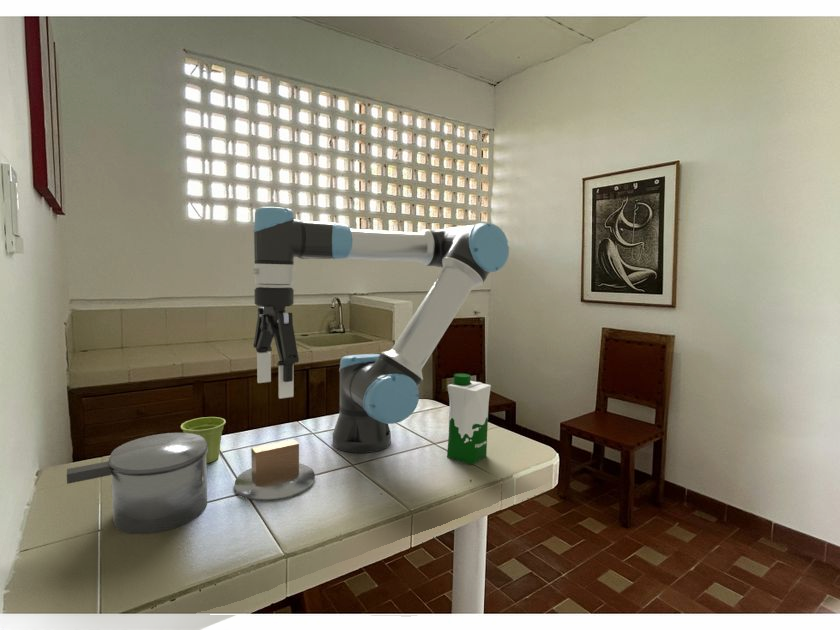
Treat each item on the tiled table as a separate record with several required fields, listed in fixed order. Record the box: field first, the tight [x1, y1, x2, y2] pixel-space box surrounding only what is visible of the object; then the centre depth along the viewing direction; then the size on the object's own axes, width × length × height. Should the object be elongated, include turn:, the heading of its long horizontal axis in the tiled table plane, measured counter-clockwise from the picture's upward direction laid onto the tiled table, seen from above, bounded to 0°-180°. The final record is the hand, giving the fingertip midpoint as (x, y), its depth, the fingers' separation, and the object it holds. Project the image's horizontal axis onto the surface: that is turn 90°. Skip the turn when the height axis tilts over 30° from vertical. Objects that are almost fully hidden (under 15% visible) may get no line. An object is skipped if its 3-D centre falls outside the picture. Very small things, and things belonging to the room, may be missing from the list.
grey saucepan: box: [66, 432, 208, 535], centre depth 82 cm, size 21×16×12 cm
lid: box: [234, 439, 316, 502], centre depth 97 cm, size 16×16×8 cm
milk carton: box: [446, 372, 492, 466], centre depth 111 cm, size 9×9×20 cm
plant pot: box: [180, 416, 227, 464], centre depth 107 cm, size 9×9×9 cm
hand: (274, 389), depth 95 cm, fingers open, 13 cm apart
